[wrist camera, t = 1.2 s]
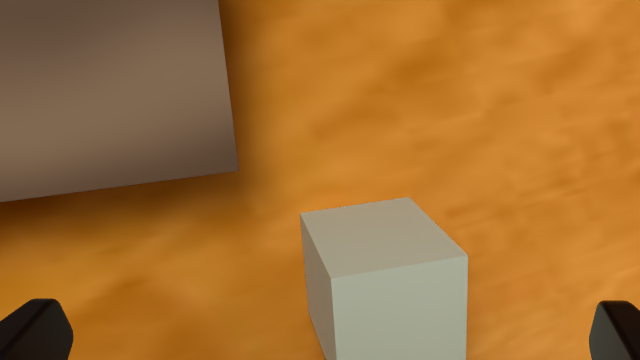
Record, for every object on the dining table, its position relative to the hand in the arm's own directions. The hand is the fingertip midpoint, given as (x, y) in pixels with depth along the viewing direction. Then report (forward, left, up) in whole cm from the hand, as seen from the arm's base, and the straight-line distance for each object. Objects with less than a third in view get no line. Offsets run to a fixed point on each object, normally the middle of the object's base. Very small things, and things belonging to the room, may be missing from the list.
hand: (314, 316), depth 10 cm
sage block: (-7, -4, -15) cm, 17 cm away
